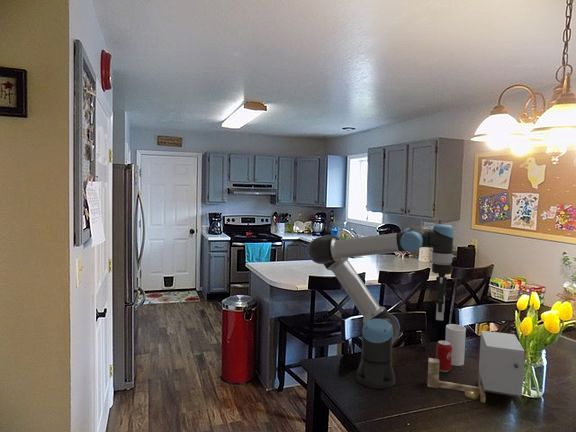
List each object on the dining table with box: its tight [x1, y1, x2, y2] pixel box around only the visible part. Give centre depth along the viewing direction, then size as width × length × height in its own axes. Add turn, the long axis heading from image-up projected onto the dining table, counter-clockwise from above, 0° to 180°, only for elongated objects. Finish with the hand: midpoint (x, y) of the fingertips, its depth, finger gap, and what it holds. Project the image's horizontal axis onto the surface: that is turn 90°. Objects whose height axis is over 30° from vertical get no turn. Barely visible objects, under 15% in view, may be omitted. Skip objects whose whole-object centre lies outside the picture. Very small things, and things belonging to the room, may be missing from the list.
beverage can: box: [435, 340, 452, 373], centre depth 179 cm, size 6×6×12 cm
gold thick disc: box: [464, 388, 480, 401], centre depth 157 cm, size 5×5×2 cm
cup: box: [444, 323, 467, 367], centre depth 188 cm, size 8×8×16 cm
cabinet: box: [477, 330, 525, 397], centre depth 156 cm, size 12×19×22 cm, turn 161°
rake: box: [426, 357, 487, 404], centre depth 160 cm, size 20×10×10 cm, turn 71°
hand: (440, 315), depth 169 cm, fingers open, 13 cm apart
